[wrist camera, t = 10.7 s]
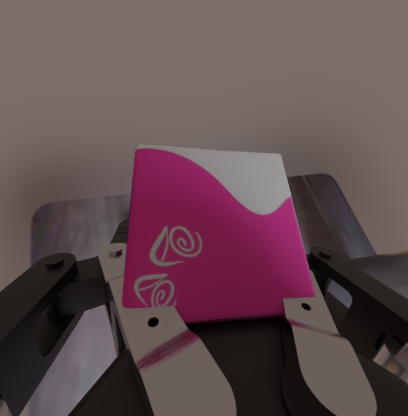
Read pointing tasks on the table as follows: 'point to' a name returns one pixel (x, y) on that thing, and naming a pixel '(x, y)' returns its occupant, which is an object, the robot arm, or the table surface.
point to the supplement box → (212, 235)
